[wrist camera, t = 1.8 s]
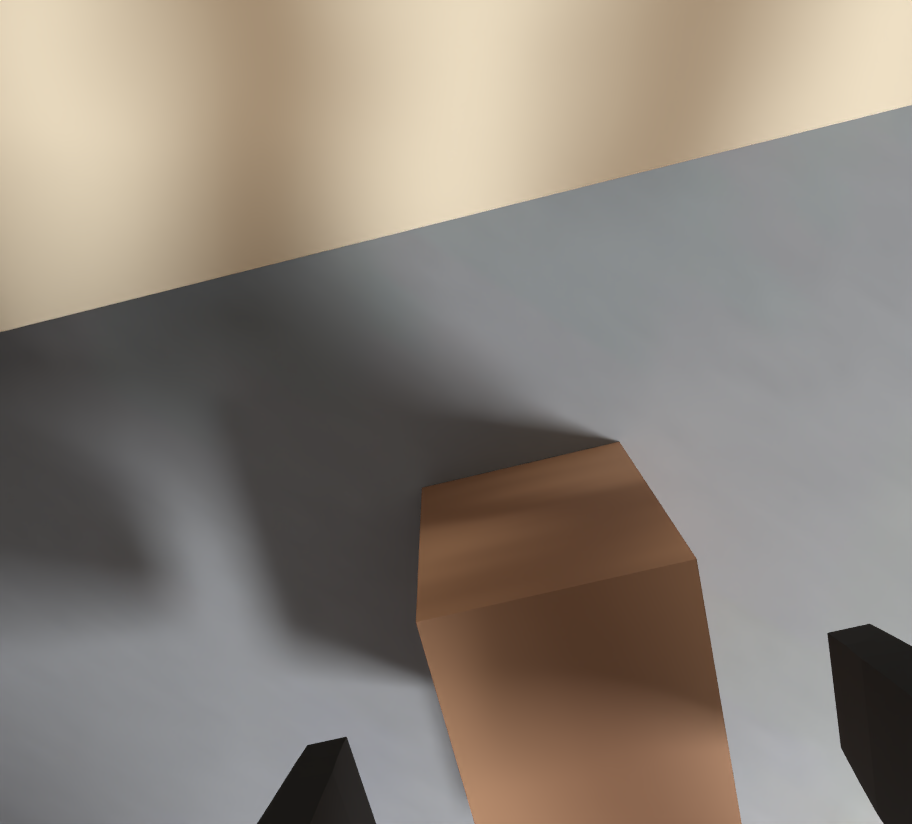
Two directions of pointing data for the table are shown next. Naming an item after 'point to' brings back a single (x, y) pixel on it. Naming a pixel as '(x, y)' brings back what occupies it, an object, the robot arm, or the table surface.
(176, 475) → the table surface
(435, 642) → the brown wooden block
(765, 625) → the table surface
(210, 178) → the board
